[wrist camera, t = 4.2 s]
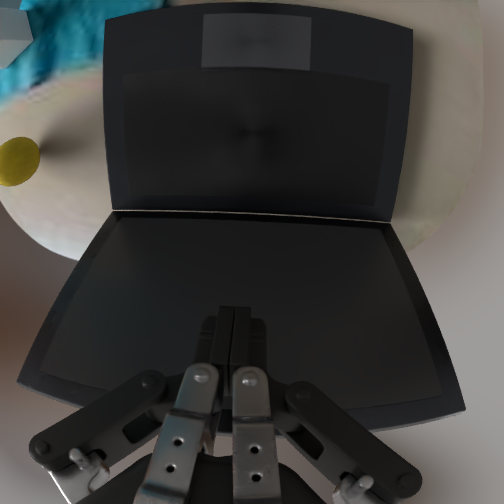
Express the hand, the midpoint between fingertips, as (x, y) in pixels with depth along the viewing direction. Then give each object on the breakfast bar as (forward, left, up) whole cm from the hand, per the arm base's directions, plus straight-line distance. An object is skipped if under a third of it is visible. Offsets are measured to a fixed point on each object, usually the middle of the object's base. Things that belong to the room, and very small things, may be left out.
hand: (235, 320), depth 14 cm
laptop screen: (+3, +2, -7) cm, 8 cm away
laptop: (-8, -5, -19) cm, 21 cm away
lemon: (+9, -26, -19) cm, 33 cm away
